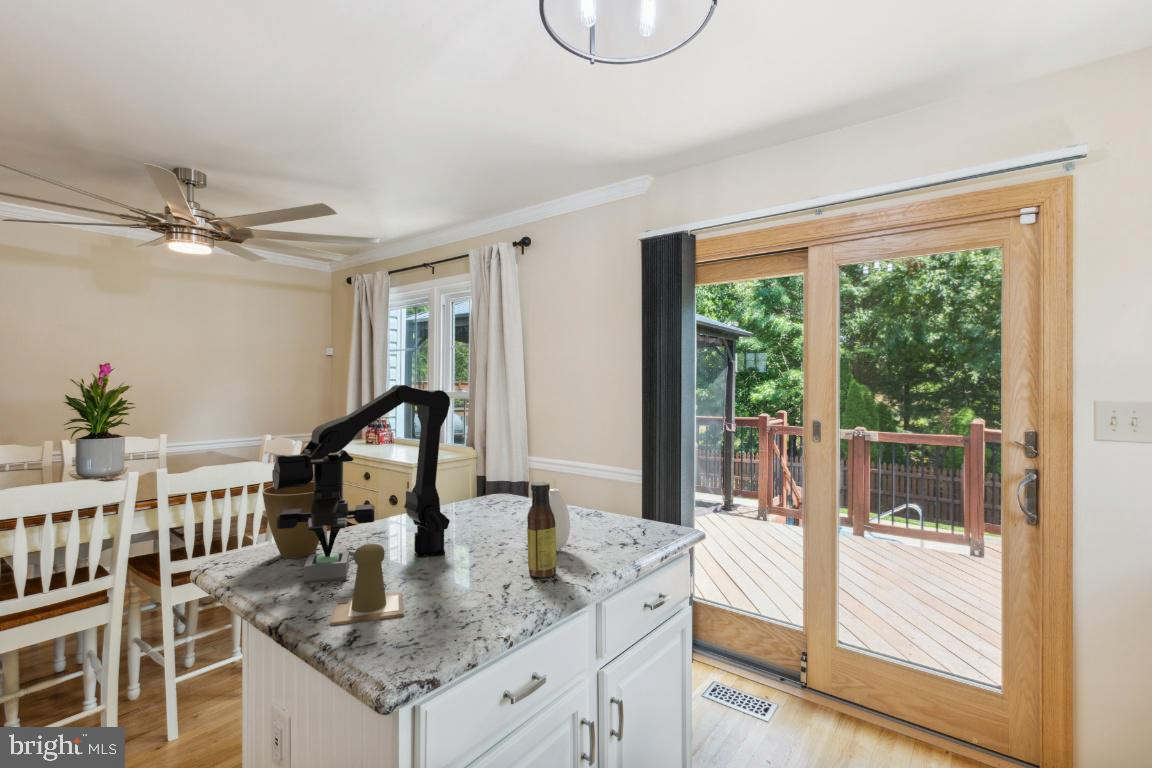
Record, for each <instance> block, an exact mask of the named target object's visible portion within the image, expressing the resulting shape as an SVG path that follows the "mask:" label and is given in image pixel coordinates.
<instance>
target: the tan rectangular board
mask: <svg viewBox="0 0 1152 768" xmlns="http://www.w3.org/2000/svg"><path fill="white" fill-rule="evenodd" d="M385 596H386V605H385V607H383V608H382V609H379V610H377V611H373V612H355V611H353V610H352V609H351V607H352V600H353V597H348V598H342V599H341V598H340V599H335V600H334V605H333V608H332V609H333V610H332V613H331V617H330V621H329V626H338V625H343V624H345V625H346V624H352V623H353V624H354V623H362V622H368V621H376V620H385V619H391V618H392V619H393V618H401V617H404V615H405V614H404V612H405V611H404V593H403V592H402V591H401V592H395V593H385Z"/></svg>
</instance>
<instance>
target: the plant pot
mask: <svg viewBox="0 0 1152 768" xmlns="http://www.w3.org/2000/svg"><path fill="white" fill-rule="evenodd" d="M261 491H262V492H261V493H262V499H263V503H264V508H265V509H264V510H265V513H266V517H267V518H266V519H267V522H268V526H269V528H270V531H271V535H272V537H273V540H274V543H275V545H276V548H277V550H278V552H279V554H280V556H281V557H282V558H283V559H299V558H300V557H301V558H304V557H309V555H310V554H316V553H315V552H317V549H318V546H319V544H320V540H319V538H318V537H317V535H316V533H315V532H314V531H312V530H311V531H310V530H308V527H309V524H308V522H298V524H297V525H296V526H295V527H294V528H286V529H277V517H278V516H279V515H280V513H281V512H282V511H283V510H286V509H302V513H310V512H311V505H312V502H313V500H314V481H311V482H309V483H308V484H307V486H302V487H293V488H284V489H275V488H274V485H271V486H269V487H266V488H264V489H263V490H261Z"/></svg>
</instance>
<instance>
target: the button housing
mask: <svg viewBox="0 0 1152 768" xmlns="http://www.w3.org/2000/svg"><path fill="white" fill-rule="evenodd" d="M331 553H338V554H339V562H328V563H317V564H316V557H317V556H318V555H320V554H324V552H323V553H322V552H321V553H313V554H310V555H309V556H307V559H306V562H305V564H304V566H303V584H312V583H311V582H314V583H323V582H322V581H324V582H332V581H333V582H334V581H342V580H341V579H344V580H347V578H348V574H347V573H348V572H349V569H350V550H348V551H347V550H346V551H335V552H334V551H333V552H332V551H331Z"/></svg>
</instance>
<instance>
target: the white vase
mask: <svg viewBox="0 0 1152 768" xmlns="http://www.w3.org/2000/svg"><path fill="white" fill-rule="evenodd" d="M560 492H561V491H560V489H558V488H556V479H553V488H550V489H549V501H550V502H549V503H550V507H551V510H552V512H553V514H554V518H555V525H556V551H557V552H560V551H561V550H562V548H564V547H566V545H567V542H568V541H569V537H570V532H571V520H570V513H569V509H568V506H567V503H566V500H565V499H564V497H563V495H562V493H560Z"/></svg>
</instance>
